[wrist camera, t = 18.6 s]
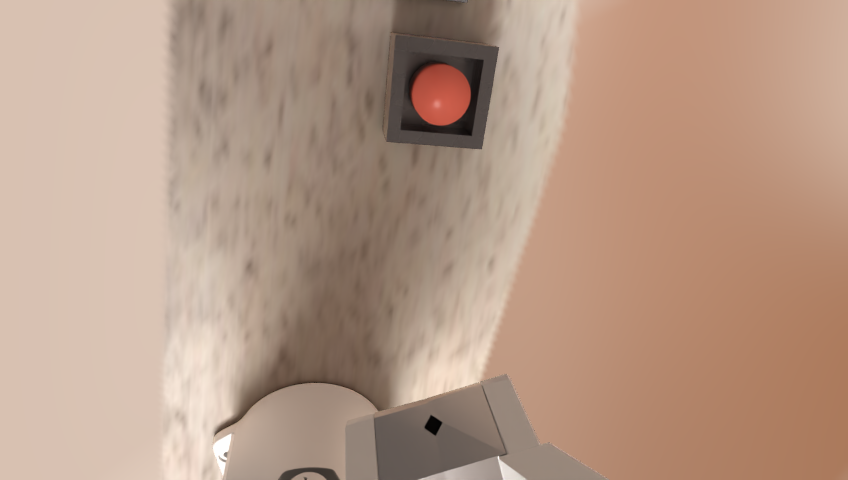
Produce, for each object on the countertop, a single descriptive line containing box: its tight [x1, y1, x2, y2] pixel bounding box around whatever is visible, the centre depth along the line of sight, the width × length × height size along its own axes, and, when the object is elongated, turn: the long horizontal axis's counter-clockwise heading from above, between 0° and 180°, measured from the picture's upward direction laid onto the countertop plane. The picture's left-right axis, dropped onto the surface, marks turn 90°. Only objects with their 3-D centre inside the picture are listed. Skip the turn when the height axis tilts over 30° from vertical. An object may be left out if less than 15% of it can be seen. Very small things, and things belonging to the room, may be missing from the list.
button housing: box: [383, 32, 499, 149], centre depth 35 cm, size 7×7×4 cm
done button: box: [409, 62, 471, 125], centre depth 35 cm, size 4×4×2 cm
